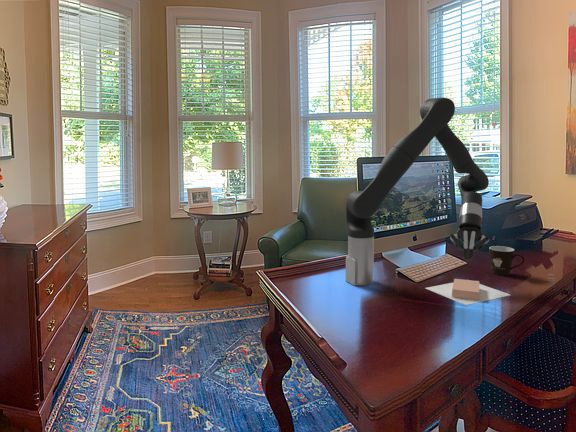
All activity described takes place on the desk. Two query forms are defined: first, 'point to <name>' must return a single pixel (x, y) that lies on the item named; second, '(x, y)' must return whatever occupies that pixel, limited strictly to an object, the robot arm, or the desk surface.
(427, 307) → the desk surface
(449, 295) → the mat
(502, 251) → the coffee mug
